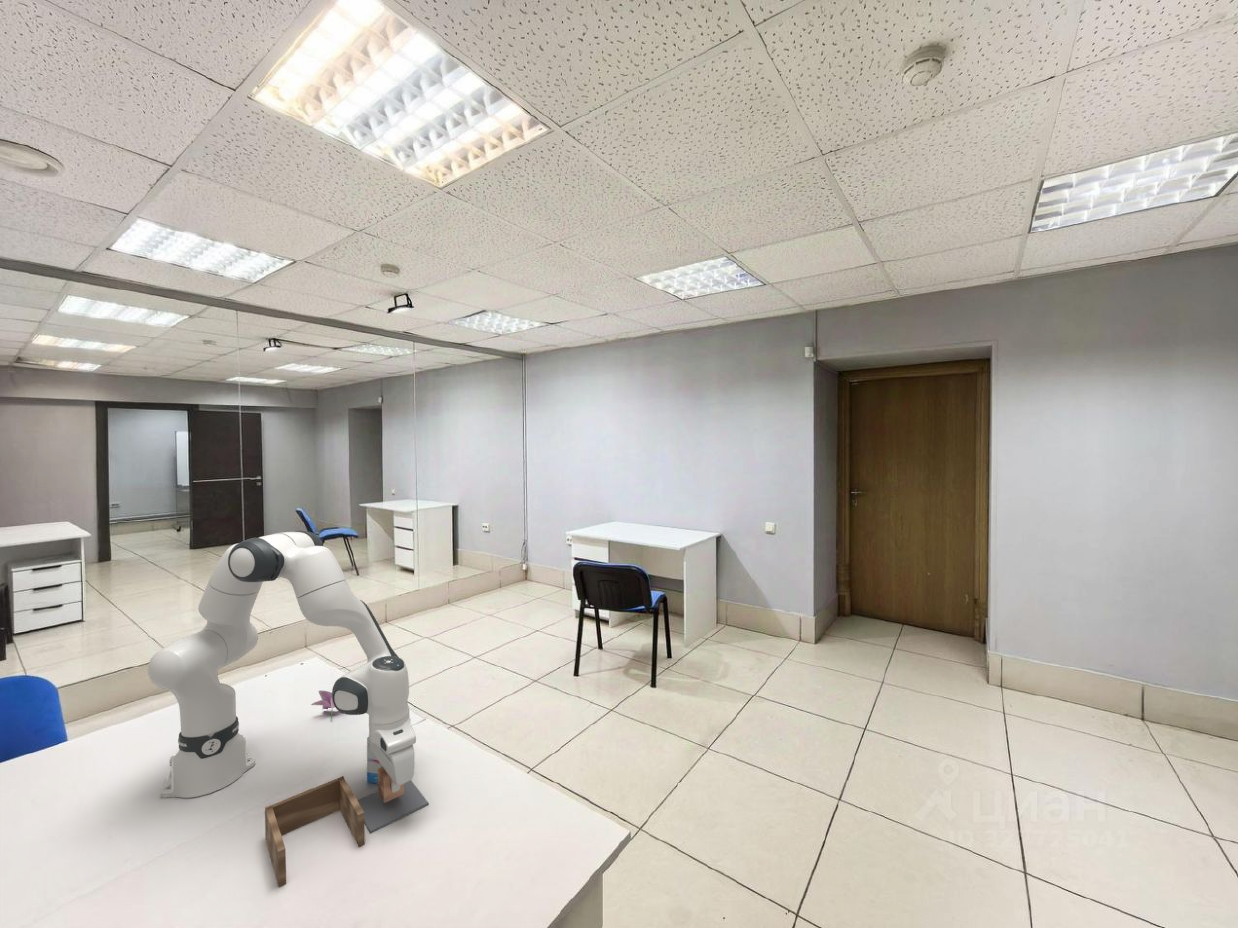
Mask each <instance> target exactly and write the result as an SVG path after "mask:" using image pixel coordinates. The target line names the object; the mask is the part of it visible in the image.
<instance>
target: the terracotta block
mask: <svg viewBox="0 0 1238 928" xmlns="http://www.w3.org/2000/svg"><path fill="white" fill-rule="evenodd" d="M391 781H392V779H391V778H390V776H389V775H388V773H387V772H386V771H385V769H384V768H383V767H381V768H378V784H377V791H378V794H379V796H380V797H381V799H382V800H383V802H384V803H385V802H388V801H390V800H392V799H394V798H396V797H398V796H400V795H403V794H404V784H402V785H400V789H399V790H398V791H396V792H394V793H393V792H392V791H391V789H390V783H391Z"/></svg>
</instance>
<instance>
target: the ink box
mask: <svg viewBox="0 0 1238 928" xmlns="http://www.w3.org/2000/svg"><path fill="white" fill-rule="evenodd" d="M378 768H381V767H380V763H379V761H378V760H377V758H376V757H375V756H374V754H373V753H372V751H371V749H370V740H369V736H368V737H367V738H366V783H372V784H377V785H378Z"/></svg>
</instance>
